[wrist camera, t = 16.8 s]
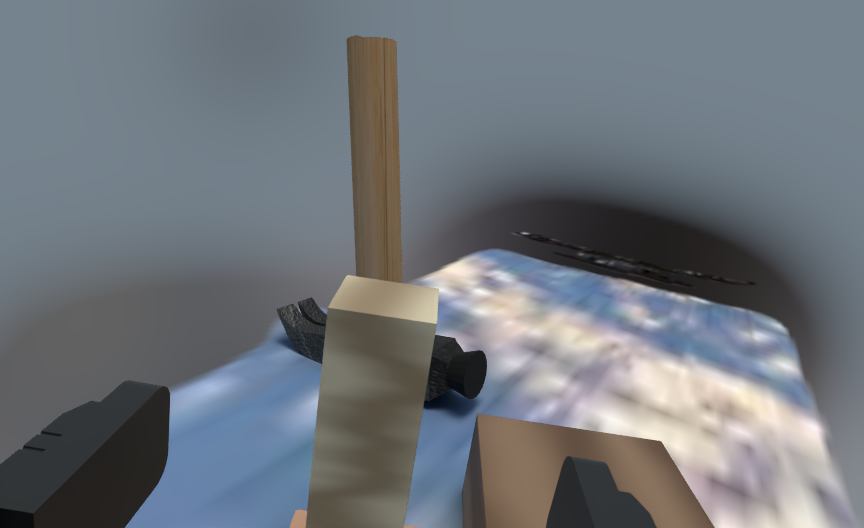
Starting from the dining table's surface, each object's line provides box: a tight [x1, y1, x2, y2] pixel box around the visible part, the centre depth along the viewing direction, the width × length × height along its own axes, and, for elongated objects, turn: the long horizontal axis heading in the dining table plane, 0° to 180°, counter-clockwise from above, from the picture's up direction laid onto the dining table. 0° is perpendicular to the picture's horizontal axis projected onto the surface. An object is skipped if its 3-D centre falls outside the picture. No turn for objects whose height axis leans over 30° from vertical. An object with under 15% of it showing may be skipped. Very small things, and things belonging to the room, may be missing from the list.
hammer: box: [277, 35, 487, 401], centre depth 49 cm, size 20×5×30 cm, turn 60°
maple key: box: [305, 275, 439, 528], centre depth 24 cm, size 4×4×16 cm
